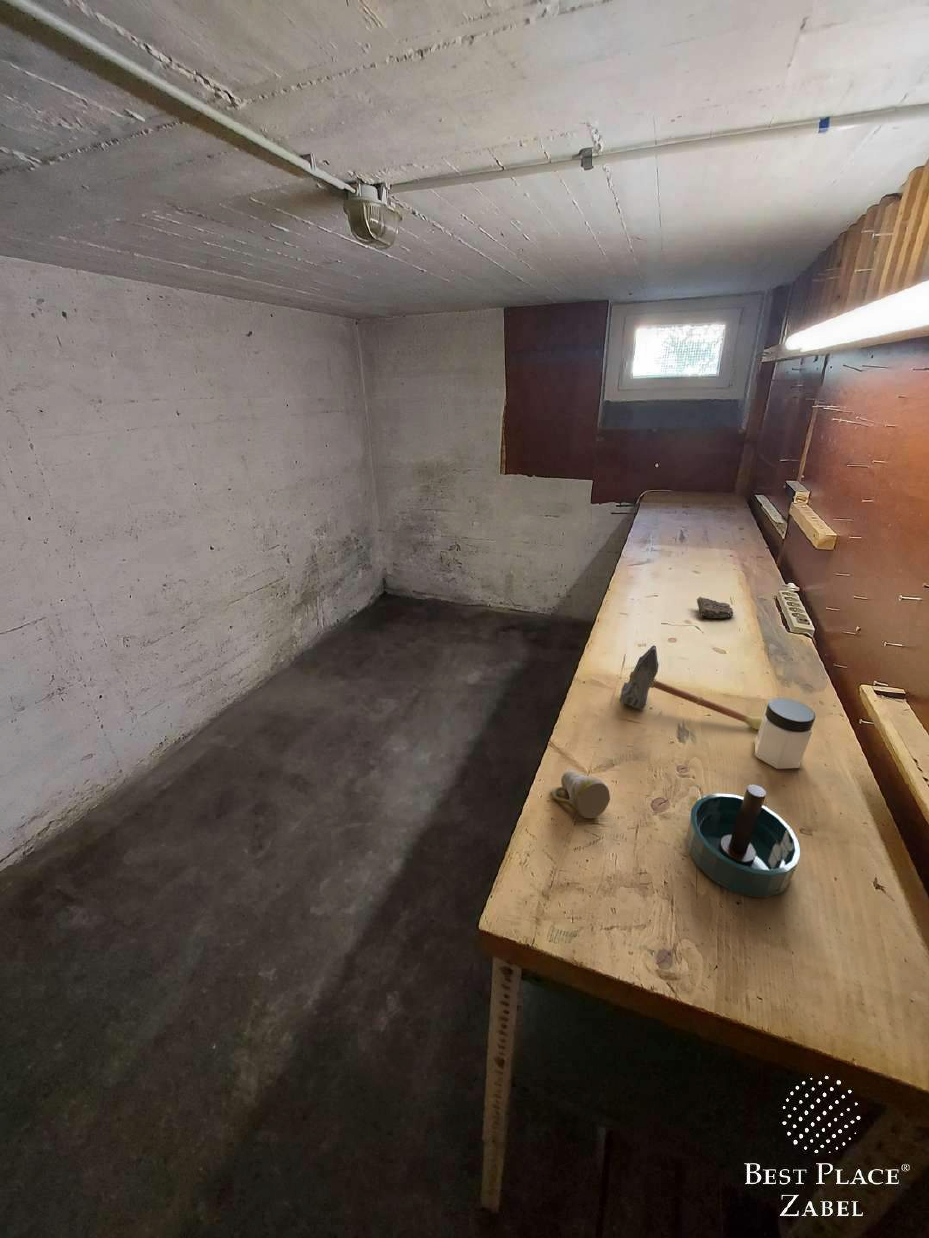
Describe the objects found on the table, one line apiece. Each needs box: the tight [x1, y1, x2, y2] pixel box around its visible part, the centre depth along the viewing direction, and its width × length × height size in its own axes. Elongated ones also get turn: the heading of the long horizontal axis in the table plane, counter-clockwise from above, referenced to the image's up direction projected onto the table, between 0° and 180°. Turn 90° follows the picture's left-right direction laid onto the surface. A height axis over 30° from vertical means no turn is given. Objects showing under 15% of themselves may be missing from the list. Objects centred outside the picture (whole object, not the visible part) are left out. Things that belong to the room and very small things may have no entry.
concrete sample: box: [696, 596, 734, 619], centre depth 161 cm, size 12×10×5 cm
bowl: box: [684, 792, 802, 898], centre depth 79 cm, size 16×16×6 cm
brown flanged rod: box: [719, 784, 767, 866], centre depth 77 cm, size 5×5×14 cm
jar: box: [754, 697, 816, 770], centre depth 99 cm, size 9×8×12 cm
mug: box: [552, 769, 611, 819], centre depth 90 cm, size 8×10×10 cm
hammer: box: [619, 644, 763, 731], centre depth 112 cm, size 6×16×30 cm
